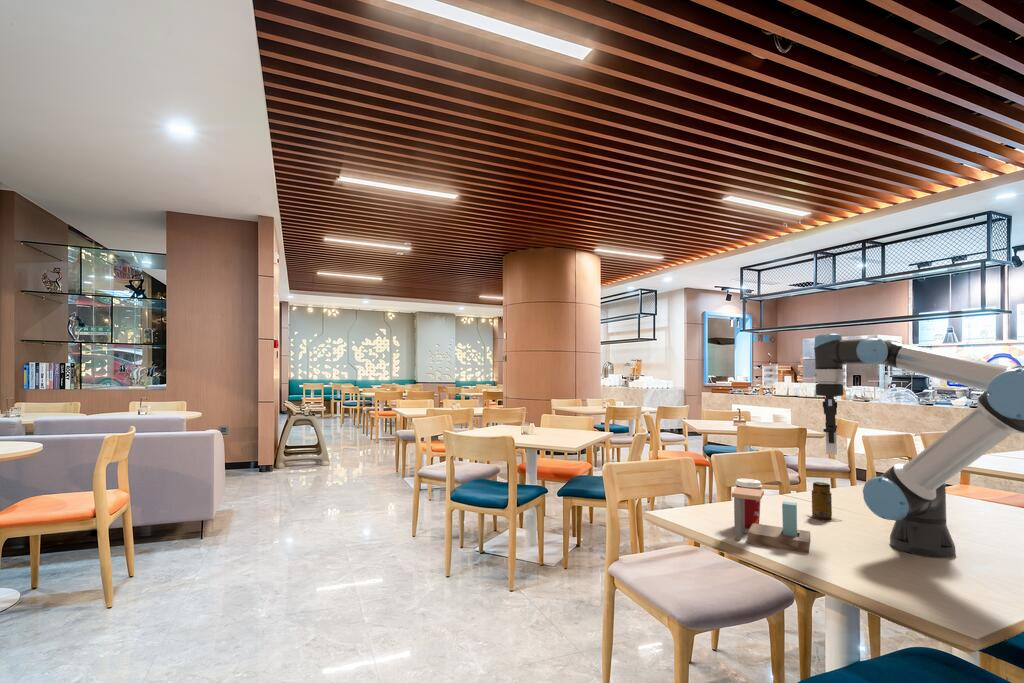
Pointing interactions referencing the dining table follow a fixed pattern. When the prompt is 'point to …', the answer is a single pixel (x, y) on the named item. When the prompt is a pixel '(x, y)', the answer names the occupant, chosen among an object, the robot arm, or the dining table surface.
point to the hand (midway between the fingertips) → (831, 451)
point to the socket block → (778, 538)
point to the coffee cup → (750, 502)
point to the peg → (789, 518)
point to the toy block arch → (739, 508)
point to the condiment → (822, 502)
